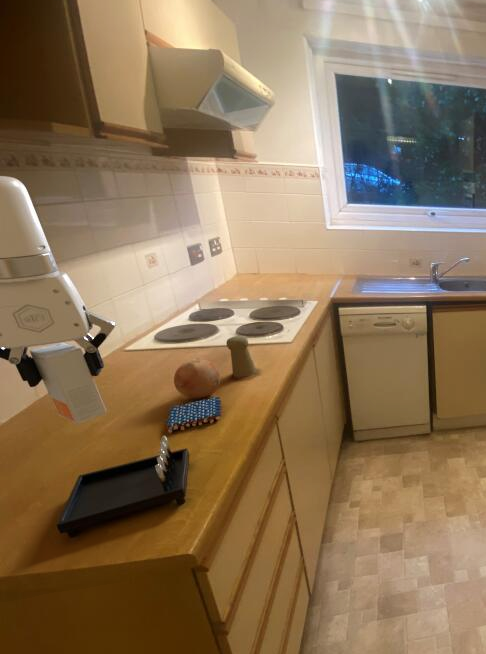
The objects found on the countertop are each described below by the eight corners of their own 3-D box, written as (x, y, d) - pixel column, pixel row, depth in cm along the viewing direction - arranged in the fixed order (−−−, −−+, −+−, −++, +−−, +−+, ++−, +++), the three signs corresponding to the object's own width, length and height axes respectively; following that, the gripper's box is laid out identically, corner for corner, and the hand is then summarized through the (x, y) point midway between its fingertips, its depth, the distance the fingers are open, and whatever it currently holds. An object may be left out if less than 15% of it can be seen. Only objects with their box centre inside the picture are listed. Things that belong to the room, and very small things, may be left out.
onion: (188, 389, 116) (177, 354, 112) (230, 385, 118) (221, 351, 114) (172, 406, 107) (159, 370, 103) (217, 402, 109) (206, 366, 105)
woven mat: (170, 413, 104) (167, 406, 103) (222, 402, 109) (219, 395, 108) (166, 434, 96) (163, 426, 95) (222, 420, 101) (220, 413, 100)
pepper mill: (240, 379, 121) (231, 342, 117) (228, 374, 124) (218, 338, 120) (261, 371, 126) (253, 336, 122) (249, 367, 129) (240, 332, 125)
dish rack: (64, 541, 68) (43, 501, 65) (85, 490, 79) (68, 453, 76) (187, 503, 76) (174, 466, 73) (191, 461, 87) (180, 427, 84)
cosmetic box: (58, 417, 72) (27, 350, 67) (89, 405, 75) (63, 341, 71) (76, 425, 69) (46, 357, 65) (108, 413, 73) (82, 347, 68)
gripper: (-86, 279, 56) (-21, 401, 62) (93, 265, 64) (133, 374, 71) (-57, 268, 61) (-1, 382, 68) (103, 257, 70) (139, 359, 77)
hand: (67, 377), depth 70 cm, fingers closed on cosmetic box, 6 cm apart
